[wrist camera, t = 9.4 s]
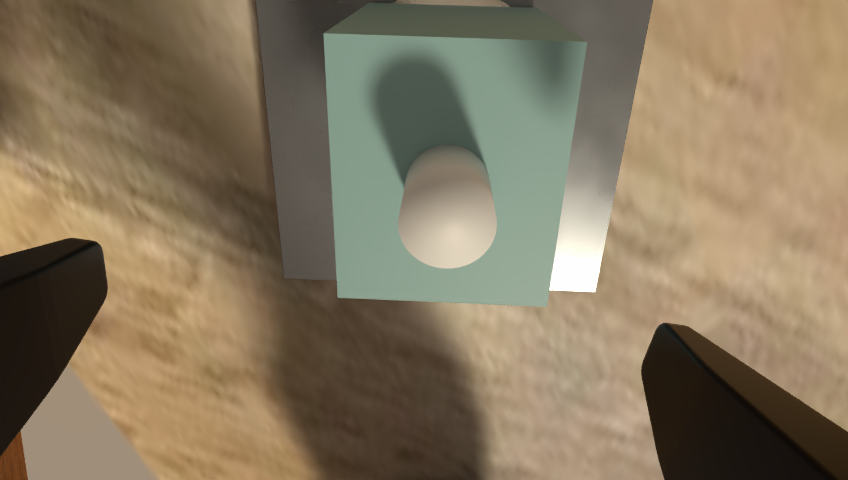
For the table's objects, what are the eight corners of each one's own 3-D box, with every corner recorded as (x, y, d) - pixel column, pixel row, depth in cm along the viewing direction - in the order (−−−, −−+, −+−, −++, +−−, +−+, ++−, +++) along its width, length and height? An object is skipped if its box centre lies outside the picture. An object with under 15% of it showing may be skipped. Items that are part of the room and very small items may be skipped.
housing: (515, 193, 20) (562, 361, 12) (372, 187, 20) (320, 350, 12) (535, 7, 17) (615, 60, 9) (369, 2, 17) (298, 49, 9)
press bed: (583, 265, 23) (596, 294, 21) (296, 253, 24) (282, 281, 22) (657, -139, 17) (685, -150, 15) (261, -150, 17) (236, -162, 15)
